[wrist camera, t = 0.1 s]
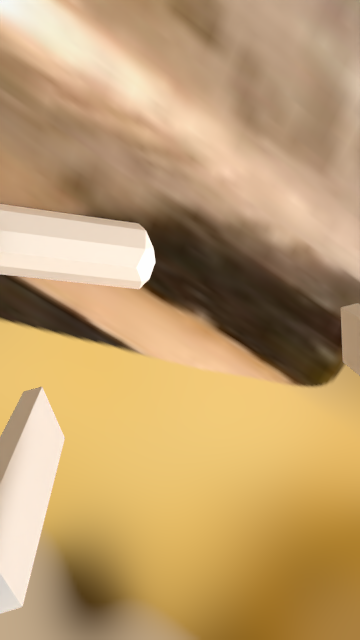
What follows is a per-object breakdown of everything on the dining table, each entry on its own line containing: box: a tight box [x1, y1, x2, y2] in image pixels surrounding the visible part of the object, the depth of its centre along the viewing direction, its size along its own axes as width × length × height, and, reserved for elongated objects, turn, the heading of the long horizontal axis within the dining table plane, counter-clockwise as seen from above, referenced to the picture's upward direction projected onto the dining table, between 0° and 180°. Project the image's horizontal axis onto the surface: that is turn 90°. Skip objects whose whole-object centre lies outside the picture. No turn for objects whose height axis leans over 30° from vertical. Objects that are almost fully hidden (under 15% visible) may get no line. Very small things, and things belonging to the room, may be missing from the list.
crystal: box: [0, 204, 155, 289], centre depth 37 cm, size 7×7×24 cm
